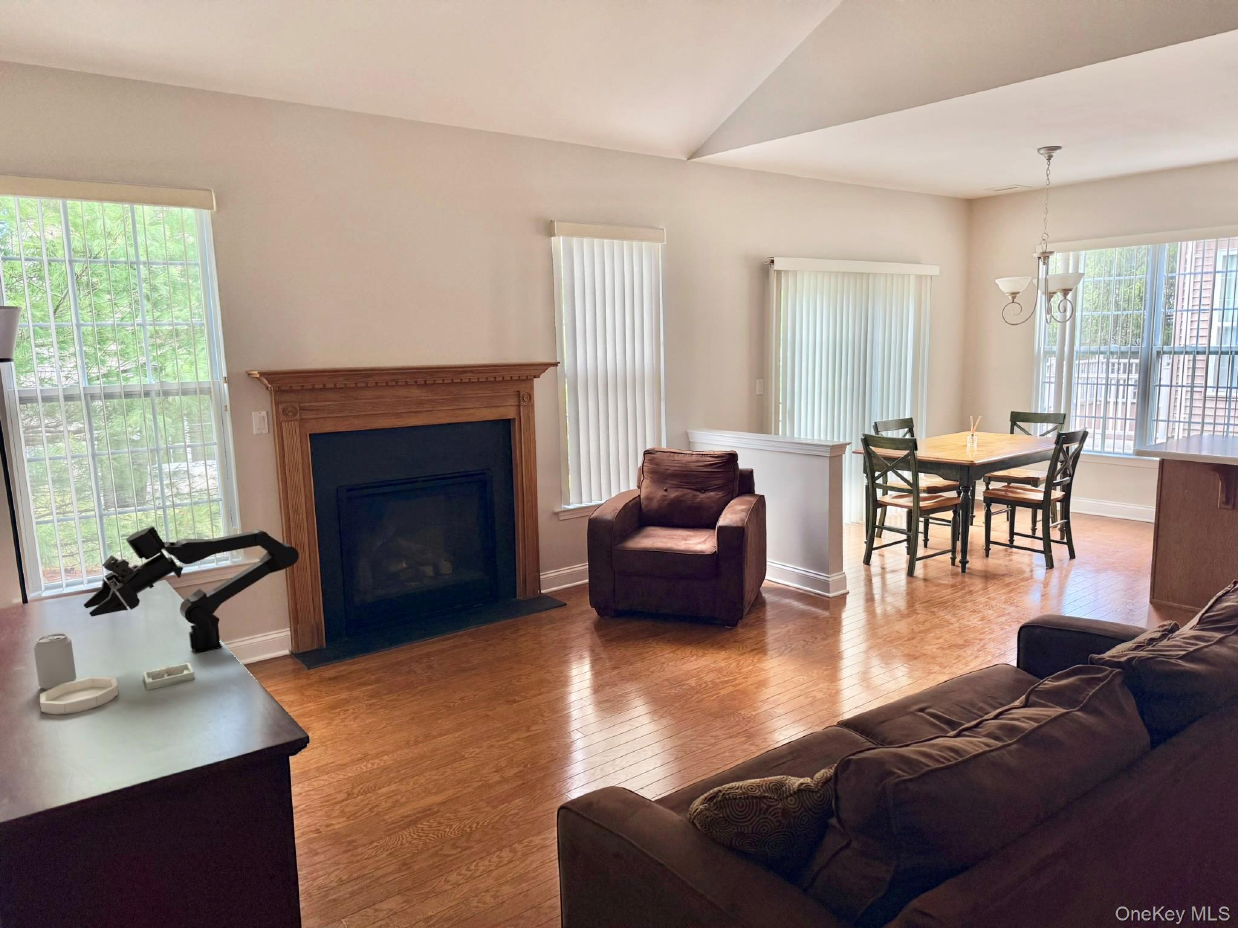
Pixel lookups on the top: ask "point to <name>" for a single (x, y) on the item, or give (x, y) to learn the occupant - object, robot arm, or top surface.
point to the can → (54, 660)
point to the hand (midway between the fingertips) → (87, 610)
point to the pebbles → (167, 672)
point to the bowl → (78, 695)
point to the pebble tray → (168, 677)
